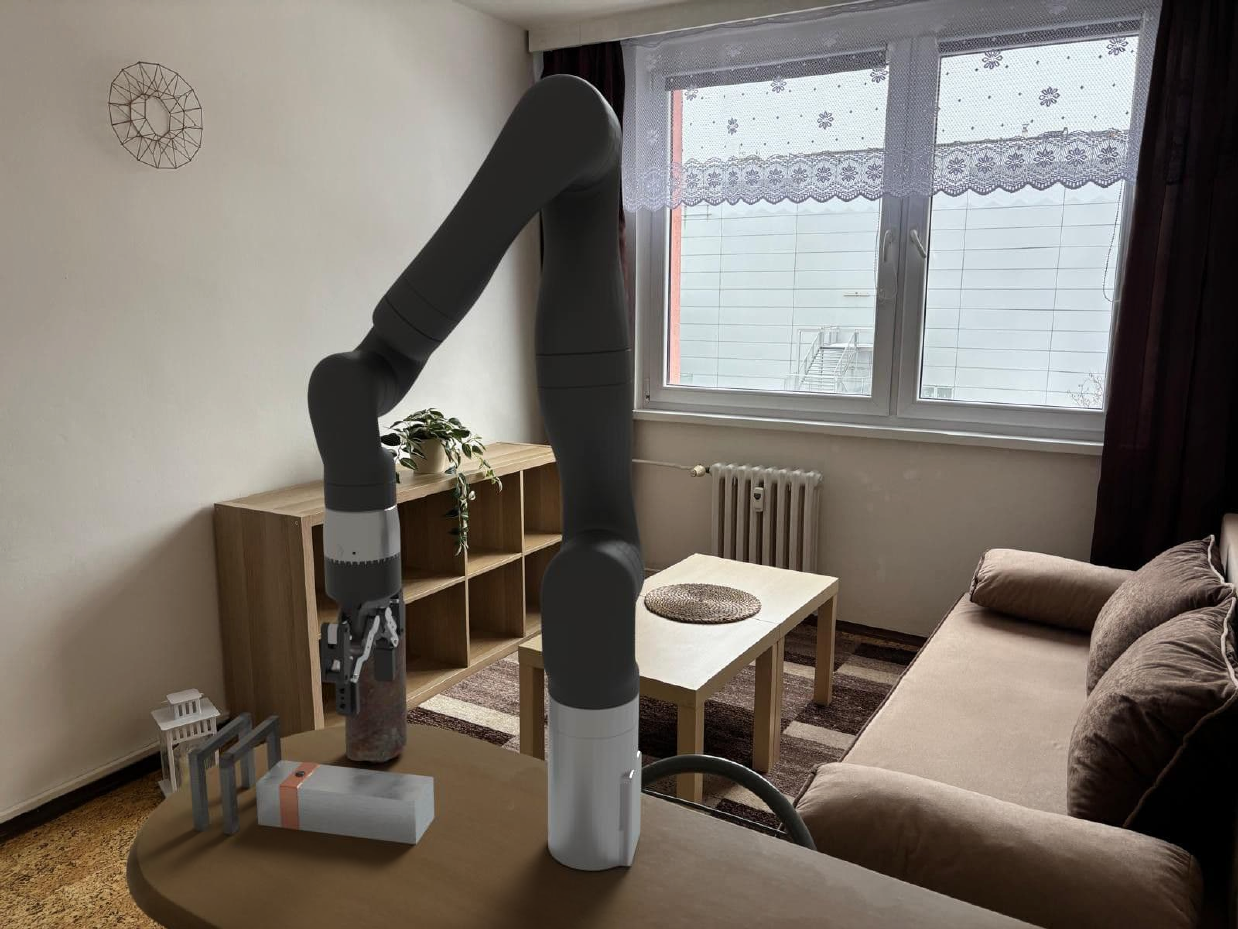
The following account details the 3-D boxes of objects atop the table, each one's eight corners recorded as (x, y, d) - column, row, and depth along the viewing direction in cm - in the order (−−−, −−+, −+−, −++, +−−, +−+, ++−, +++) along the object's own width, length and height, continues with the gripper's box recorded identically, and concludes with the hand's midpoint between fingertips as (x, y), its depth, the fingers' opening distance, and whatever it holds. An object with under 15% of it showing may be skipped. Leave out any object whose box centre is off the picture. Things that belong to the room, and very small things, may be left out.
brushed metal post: (434, 818, 100) (433, 775, 99) (415, 846, 95) (414, 800, 94) (283, 800, 103) (281, 758, 102) (257, 826, 98) (254, 782, 97)
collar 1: (255, 782, 106) (251, 713, 105) (202, 831, 97) (196, 755, 95) (247, 782, 106) (243, 712, 105) (194, 830, 97) (188, 754, 95)
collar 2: (283, 786, 106) (279, 716, 104) (232, 835, 96) (227, 758, 94) (275, 785, 106) (271, 715, 104) (224, 833, 96) (218, 757, 95)
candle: (417, 742, 116) (412, 592, 113) (398, 772, 109) (392, 612, 105) (359, 739, 117) (353, 589, 113) (336, 768, 110) (328, 609, 106)
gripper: (365, 571, 85) (370, 732, 88) (424, 532, 99) (427, 673, 102) (291, 565, 87) (299, 724, 90) (360, 528, 100) (364, 667, 103)
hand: (367, 696), depth 96 cm, fingers open, 8 cm apart
